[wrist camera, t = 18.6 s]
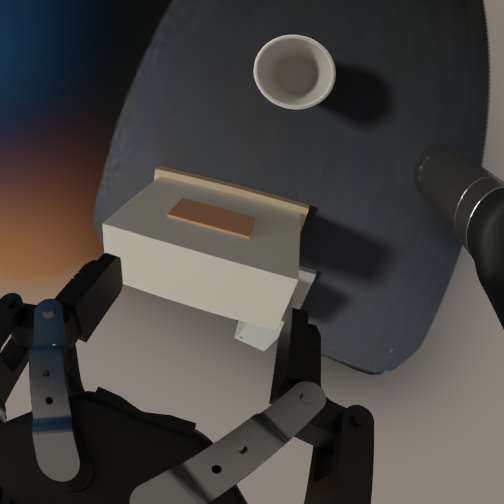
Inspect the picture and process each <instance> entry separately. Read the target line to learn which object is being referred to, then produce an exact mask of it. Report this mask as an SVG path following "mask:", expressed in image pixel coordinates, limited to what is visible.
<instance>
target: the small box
mask: <svg viewBox="0 0 504 504" xmlns="http://www.w3.org/2000/svg"><path fill="white" fill-rule="evenodd" d="M292 303H293V294H292V296H291V298H290V301H289V303H288V305H287V308H286V310H285V312H284V315H283V317H282V319H281V321H280V324H279V326H278V328H277V330H272V329H269V328H265V327H261V326H257V325H253V324H250V323H246V322H242V321H239V322H238V326H237V329H236V333H235V338H236V339H238V340H240V341H242V342H245V343H247V344H249V345H251V346H253V347H255V348H258V349H260V350H262V351H265V350H266V349H267V348H268V347H269V346H270V345H271V344H272V343H273V342H274V341H275V340H276V339H277V338H278V337H279V335H280V332H281V329H282V327H283V324H284V322H285V320H286V318H287V315H288V313H289V311H290V309H291V308H292Z"/></svg>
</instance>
